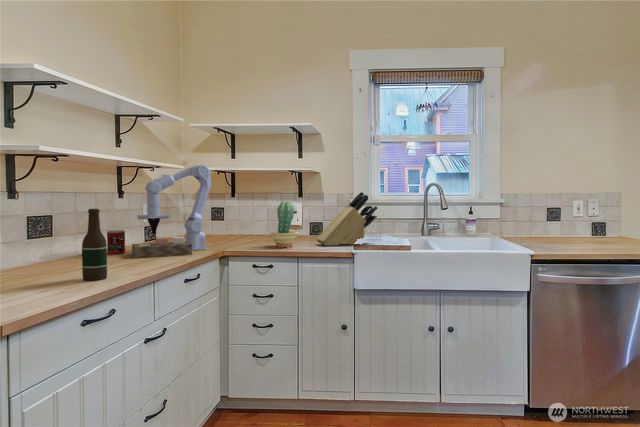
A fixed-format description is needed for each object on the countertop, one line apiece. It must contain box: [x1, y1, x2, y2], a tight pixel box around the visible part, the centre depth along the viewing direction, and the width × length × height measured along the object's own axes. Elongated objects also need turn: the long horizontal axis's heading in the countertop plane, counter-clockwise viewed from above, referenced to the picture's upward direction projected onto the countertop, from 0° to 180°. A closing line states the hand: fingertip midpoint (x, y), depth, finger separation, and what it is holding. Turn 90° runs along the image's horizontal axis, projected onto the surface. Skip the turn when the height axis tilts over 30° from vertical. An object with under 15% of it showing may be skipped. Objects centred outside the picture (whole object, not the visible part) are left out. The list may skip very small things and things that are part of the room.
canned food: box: [106, 229, 126, 255], centre depth 200 cm, size 8×8×11 cm
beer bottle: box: [81, 208, 108, 282], centre depth 141 cm, size 8×8×24 cm
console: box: [131, 240, 193, 259], centre depth 197 cm, size 25×13×5 cm, turn 118°
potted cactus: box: [270, 201, 299, 248], centre depth 228 cm, size 15×15×25 cm
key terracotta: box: [155, 236, 169, 245], centre depth 197 cm, size 5×5×4 cm
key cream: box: [171, 236, 186, 244], centre depth 200 cm, size 5×5×4 cm
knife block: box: [315, 191, 378, 246], centre depth 241 cm, size 11×35×31 cm, turn 112°
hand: (154, 233), depth 203 cm, fingers closed
